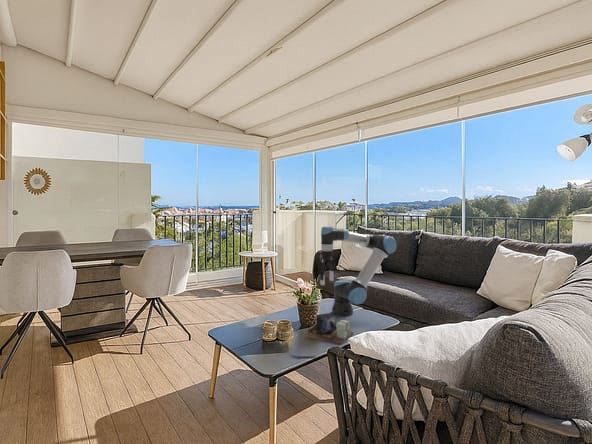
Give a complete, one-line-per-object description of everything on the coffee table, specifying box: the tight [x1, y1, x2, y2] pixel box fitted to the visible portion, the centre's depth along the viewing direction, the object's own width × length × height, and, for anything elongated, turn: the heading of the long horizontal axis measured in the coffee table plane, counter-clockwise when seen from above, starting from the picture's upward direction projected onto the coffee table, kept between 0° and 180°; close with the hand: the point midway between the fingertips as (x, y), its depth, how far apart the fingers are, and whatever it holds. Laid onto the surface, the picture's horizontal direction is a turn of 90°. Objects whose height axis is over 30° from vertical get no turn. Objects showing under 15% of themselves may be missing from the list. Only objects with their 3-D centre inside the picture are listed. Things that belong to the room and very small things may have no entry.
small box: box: [315, 312, 337, 335], centre depth 214 cm, size 11×6×10 cm, turn 111°
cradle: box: [306, 319, 354, 345], centre depth 213 cm, size 18×22×10 cm
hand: (327, 282), depth 234 cm, fingers open, 13 cm apart
